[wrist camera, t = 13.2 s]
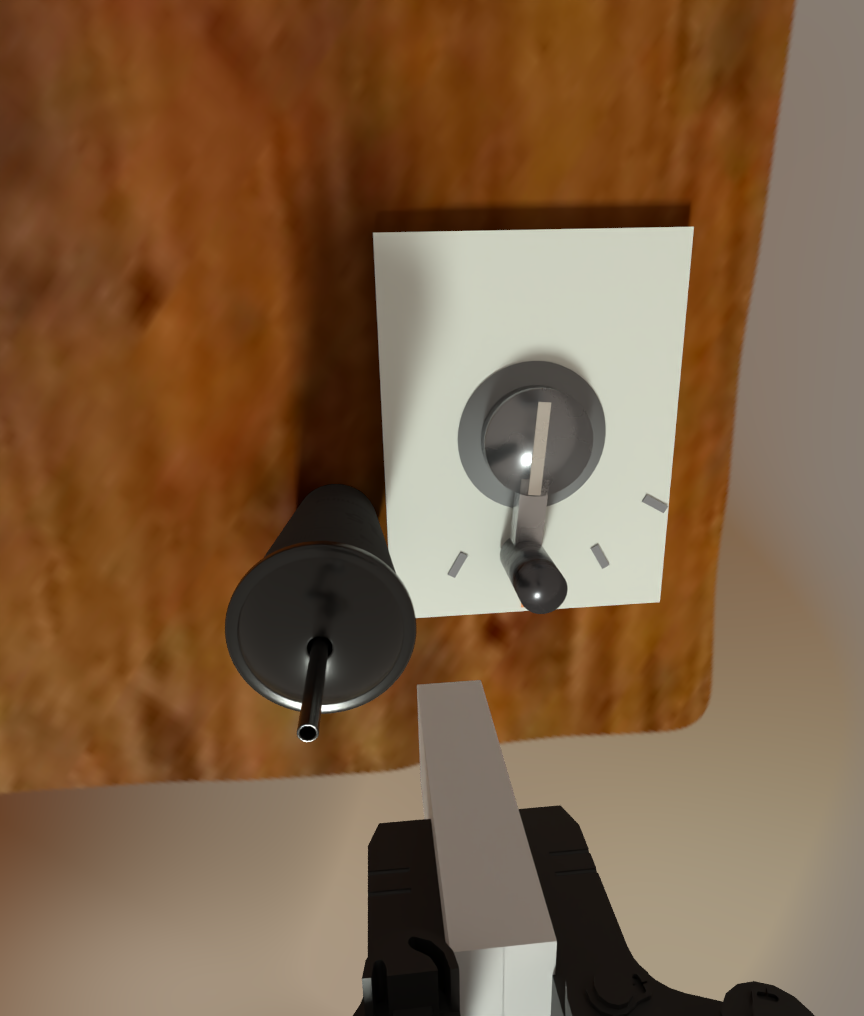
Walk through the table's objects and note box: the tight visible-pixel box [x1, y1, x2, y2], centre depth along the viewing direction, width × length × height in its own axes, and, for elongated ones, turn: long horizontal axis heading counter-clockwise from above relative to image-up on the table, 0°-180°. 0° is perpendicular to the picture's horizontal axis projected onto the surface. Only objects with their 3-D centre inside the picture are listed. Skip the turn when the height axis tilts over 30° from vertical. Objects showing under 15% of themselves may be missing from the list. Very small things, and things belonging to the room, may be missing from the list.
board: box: [373, 227, 694, 618], centre depth 38 cm, size 22×17×1 cm
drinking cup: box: [225, 484, 416, 742], centre depth 30 cm, size 8×8×20 cm
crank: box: [481, 385, 593, 614], centre depth 36 cm, size 11×6×6 cm, turn 176°
